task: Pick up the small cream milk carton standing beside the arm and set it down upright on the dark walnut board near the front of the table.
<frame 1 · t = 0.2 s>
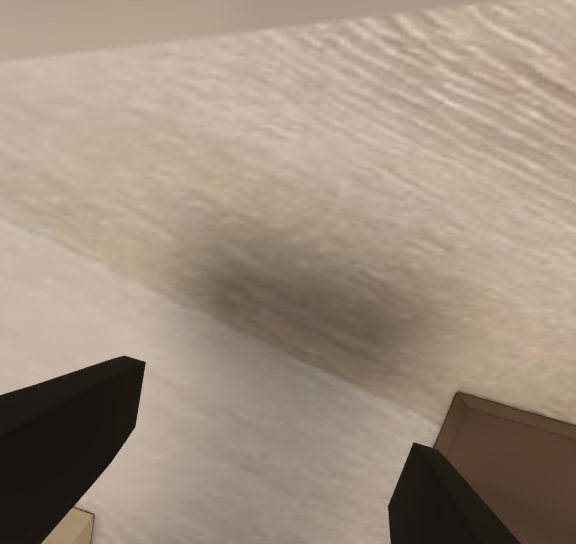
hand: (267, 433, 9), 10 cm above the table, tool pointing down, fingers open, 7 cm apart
board: (531, 512, 19), on the table
carton: (61, 529, 24), on the table
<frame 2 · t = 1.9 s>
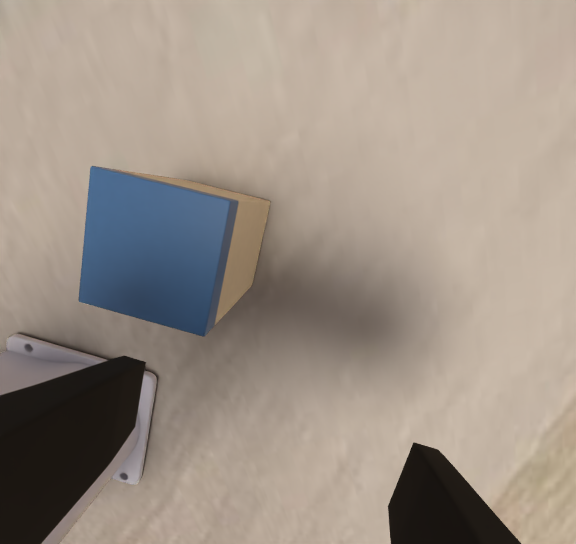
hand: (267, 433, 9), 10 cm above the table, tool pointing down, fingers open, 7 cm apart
carton: (219, 233, 17), on the table
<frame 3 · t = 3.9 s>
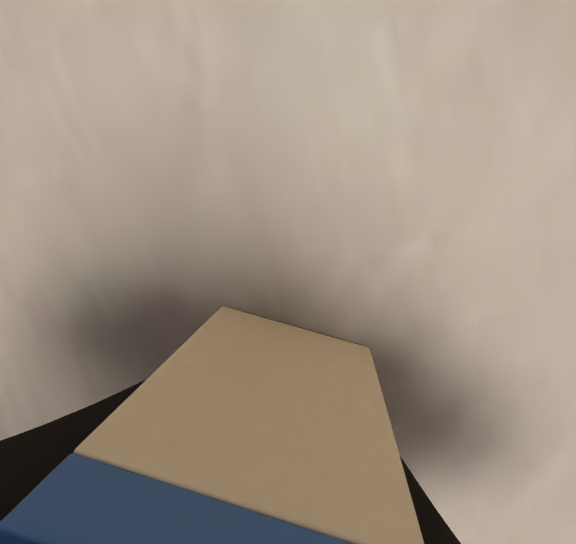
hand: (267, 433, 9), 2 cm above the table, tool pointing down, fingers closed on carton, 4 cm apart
carton: (277, 391, 10), on the table, touching gripper
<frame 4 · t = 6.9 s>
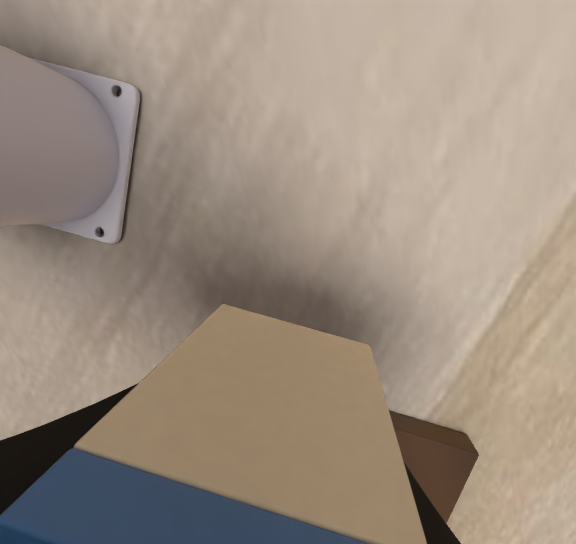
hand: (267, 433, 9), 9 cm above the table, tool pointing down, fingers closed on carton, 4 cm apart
board: (328, 493, 20), on the table
carton: (277, 389, 10), point 8 cm above the table, touching gripper
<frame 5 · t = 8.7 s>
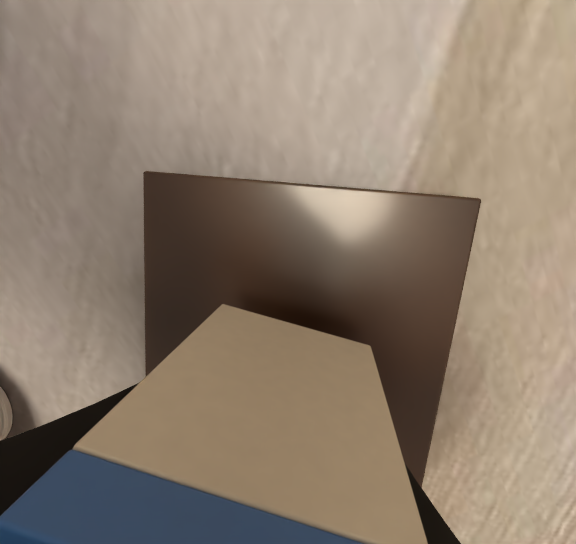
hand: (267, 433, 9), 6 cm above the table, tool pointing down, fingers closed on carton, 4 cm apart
board: (292, 338, 14), on the table
carton: (277, 390, 10), point 4 cm above the table, touching gripper
when the fingers open (3 cm above the table, at t = 10.0 s): carton stays where it is, resting on board.
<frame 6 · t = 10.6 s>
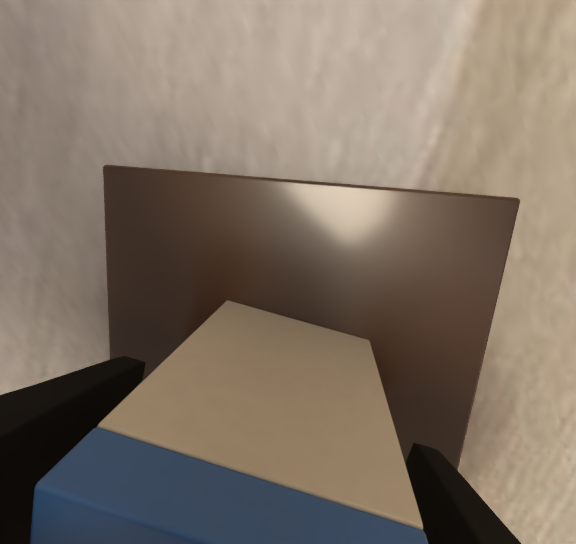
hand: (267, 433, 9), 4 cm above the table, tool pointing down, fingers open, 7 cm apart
board: (286, 363, 12), on the table
carton: (279, 383, 11), point 1 cm above the table, touching board
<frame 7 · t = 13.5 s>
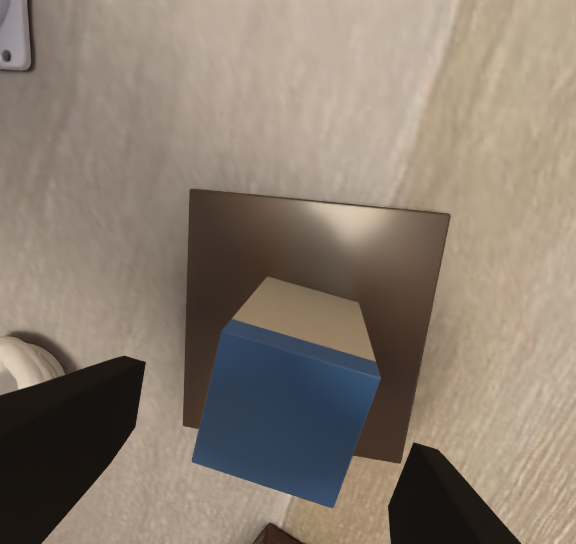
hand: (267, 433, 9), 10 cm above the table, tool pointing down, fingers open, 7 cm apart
board: (302, 322, 18), on the table
carton: (300, 331, 16), point 1 cm above the table, touching board
figurine: (17, 392, 21), on the table
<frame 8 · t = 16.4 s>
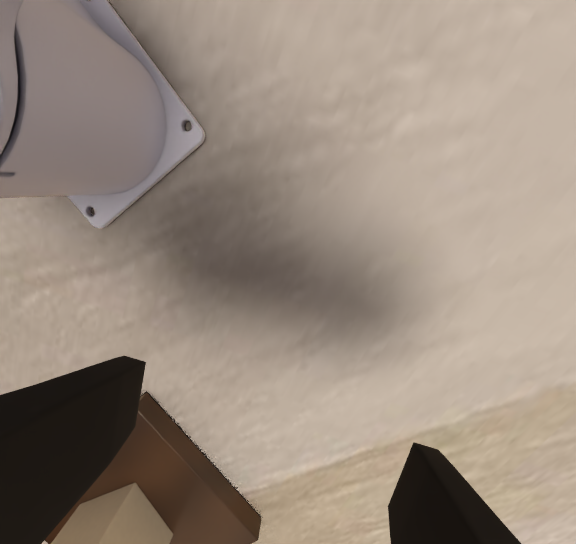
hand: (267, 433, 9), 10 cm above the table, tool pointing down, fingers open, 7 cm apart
board: (138, 498, 23), on the table
carton: (126, 518, 22), point 1 cm above the table, touching board
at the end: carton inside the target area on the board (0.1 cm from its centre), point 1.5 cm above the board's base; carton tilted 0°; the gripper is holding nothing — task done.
